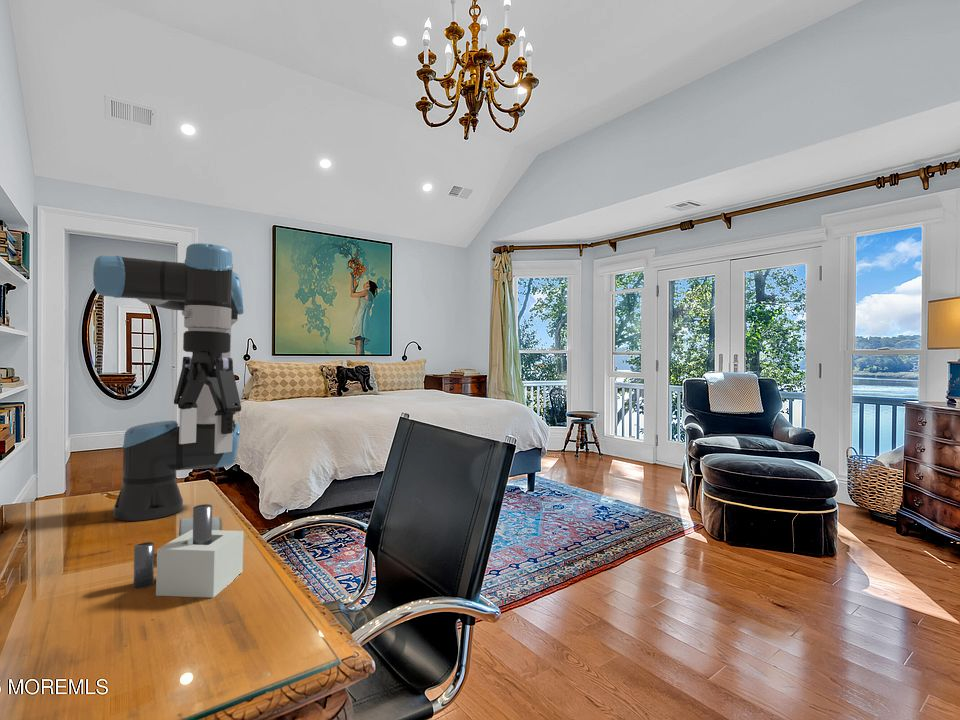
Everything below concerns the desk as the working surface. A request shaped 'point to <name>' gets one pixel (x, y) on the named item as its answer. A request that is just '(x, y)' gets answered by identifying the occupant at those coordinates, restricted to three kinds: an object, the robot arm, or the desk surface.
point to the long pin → (202, 524)
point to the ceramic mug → (187, 524)
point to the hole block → (199, 565)
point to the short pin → (143, 565)
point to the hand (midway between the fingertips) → (204, 447)
